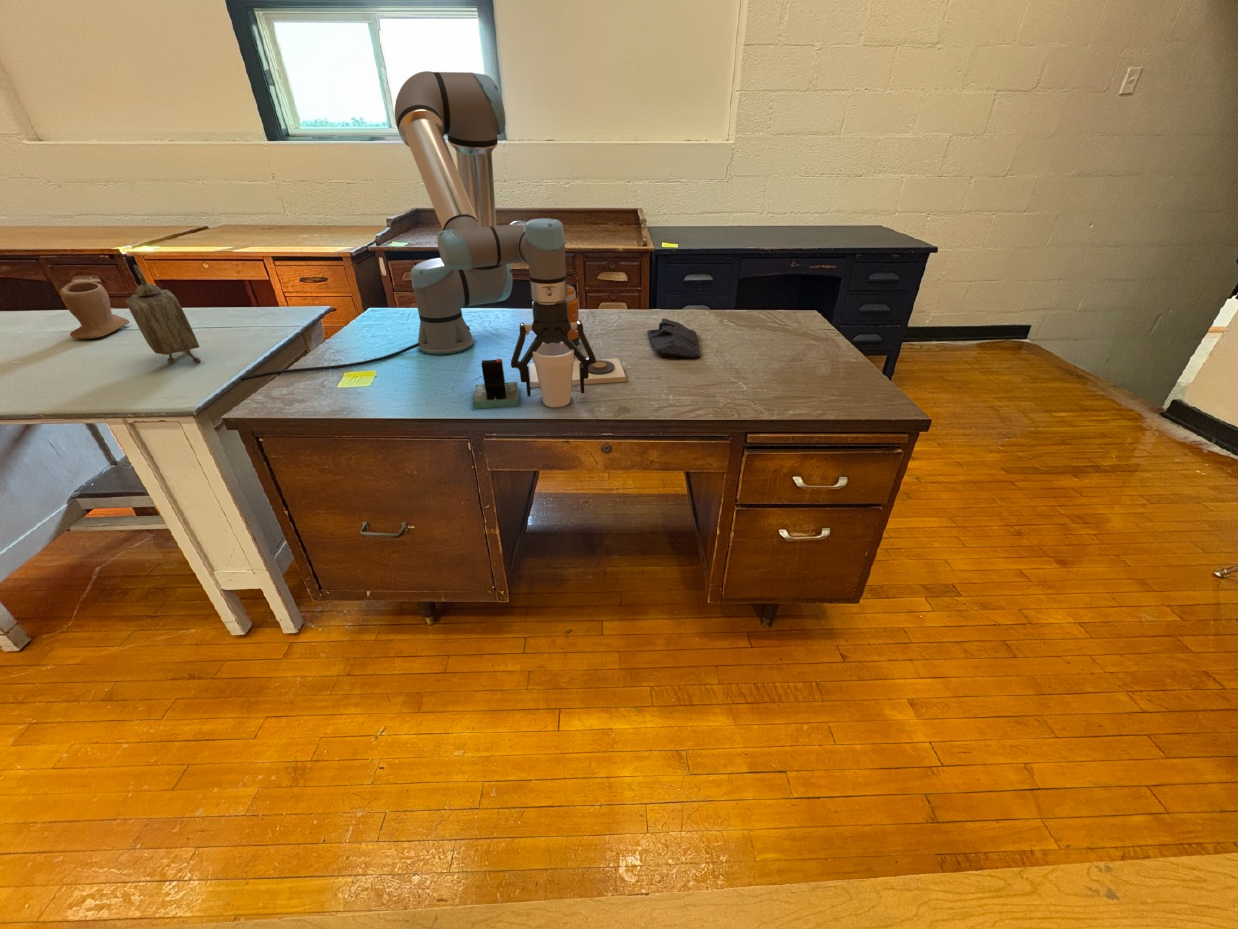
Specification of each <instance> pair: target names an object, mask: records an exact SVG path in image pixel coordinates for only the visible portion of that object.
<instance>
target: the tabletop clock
mask: <svg viewBox="0 0 1238 929" xmlns="http://www.w3.org/2000/svg"><path fill="white" fill-rule="evenodd" d="M133 270H134V272H135V273H136V275H137V277H138V279H139V282H140V284H139V285H138V286H136V289H135V294H132V295H131V296H129V297H128V298H126V300H125V304H126V306H127V308H128V310H129V312H130V313H131V316H132V317H133V319H134V321H135V323H136V325H137V327H138V329H139V331H140V333H141V334H142V336H143V338H144V340H145V342H146V344H147V345H148V346H149V347H150V349H151V350H152V351H153V352H154V353H155V354H156V355H157V354H158V355H164V356H168V358H167V359H166V360H167V362H168V363H169V364H175V363H176V359H175V358H174V357H173V354H177V353H184V354H186V355H187V356H189V357H190V358H192V362H193V363H194V364H200V363H201V362H202V361H201V358H199V357H197V356H196V357H195V355H193V354H192V353H191V350H194V349H198V348H200V344H199V342H198V339H197V338H196V335H195V333H194V331H193V328H192V326H191V324H190V322H189V320H188V318H187V316H186V313H185V312H184V309H183V308H182V306H181V304H180V302H179V300H178V299H177V297H176V296H175V295H174V294H173V293H172V292H171V291H170V290H168V289H161V288H160V287H158V286H157V285H156V284H154V283H148V282H147V280H146V278H145V276H144V274H143V271H142V270H141V268H140V267H139V265H137V264H134V265H133Z"/></svg>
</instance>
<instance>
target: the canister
mask: <svg viewBox="0 0 1238 929" xmlns="http://www.w3.org/2000/svg"><path fill="white" fill-rule="evenodd" d="M566 279H568V274H567V273H566ZM566 284H567V298H566V299H565V300H566V301H567V304H568V320H569V322H570V323H573V322H577V321H578V320H580V319H579V298H577V294H576V293H577V292H576V290H575V287H574V286H572V285H571V284H568V283H566ZM567 335H568V336H569V338H570V339H571V340H572V342H573V343H574V344H575V345H577V344H579V343H580V338H579V335H578V333H576V332H574V329H572V328H571V329H570V331H569V332H568V334H567Z"/></svg>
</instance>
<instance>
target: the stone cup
mask: <svg viewBox="0 0 1238 929" xmlns="http://www.w3.org/2000/svg"><path fill="white" fill-rule="evenodd" d="M59 295H60V297H61V300H62V302H63V304H64V306H65V307H66V309H67V310H68V311H69V313H70V314H71V315H72V316H73V317H75V319H76V320H77V321H78V322H79V323H80V327H77V328H75V329H74V330H72V331H71V332H70V333H69V337H71V338H75V339H95V338H97V339H98V338H102V337H104V336H107V335H109V334H111V333H114V332H115V331H117V330H119V329H122V328H123V327H125V326H126V325H128V324H130V323H131V322H130V320H129V319H128V318H124V317H123V316H119V315H117V314H113V312H112V307H111V301H110V296H109V294H108V292H107V290H106V289H105V287H104V286H103V285H102V284H100V283H98V282H96V281H90V280H89V281H88V280H87V281H86V280H85V281H83V280H82V281H81V280H79V281H75V282H70V283H67V284H66V285H65V286H63V287H62V288H61V289H60V291H59ZM124 325H125V326H124Z"/></svg>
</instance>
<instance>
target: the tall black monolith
mask: <svg viewBox="0 0 1238 929" xmlns="http://www.w3.org/2000/svg"><path fill="white" fill-rule="evenodd" d="M481 370H482V377H483V384H485V391H486V393H499V392H506V385H505V383H506V378H505V370H504V363H503V358H496V359H485V360H484V359H482V360H481Z"/></svg>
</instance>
